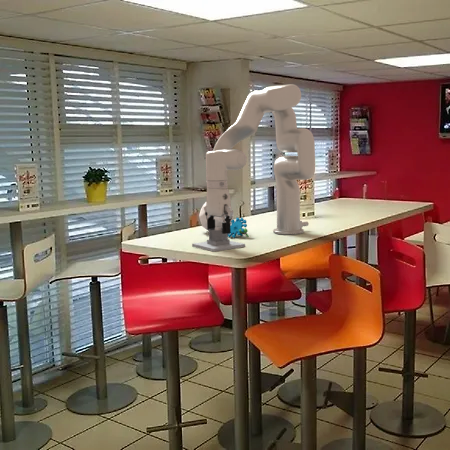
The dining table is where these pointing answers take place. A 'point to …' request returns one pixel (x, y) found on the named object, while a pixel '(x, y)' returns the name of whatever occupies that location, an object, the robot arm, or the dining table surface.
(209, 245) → the shaft stand
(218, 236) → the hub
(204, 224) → the geometric sphere
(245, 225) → the gear
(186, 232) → the dining table surface
